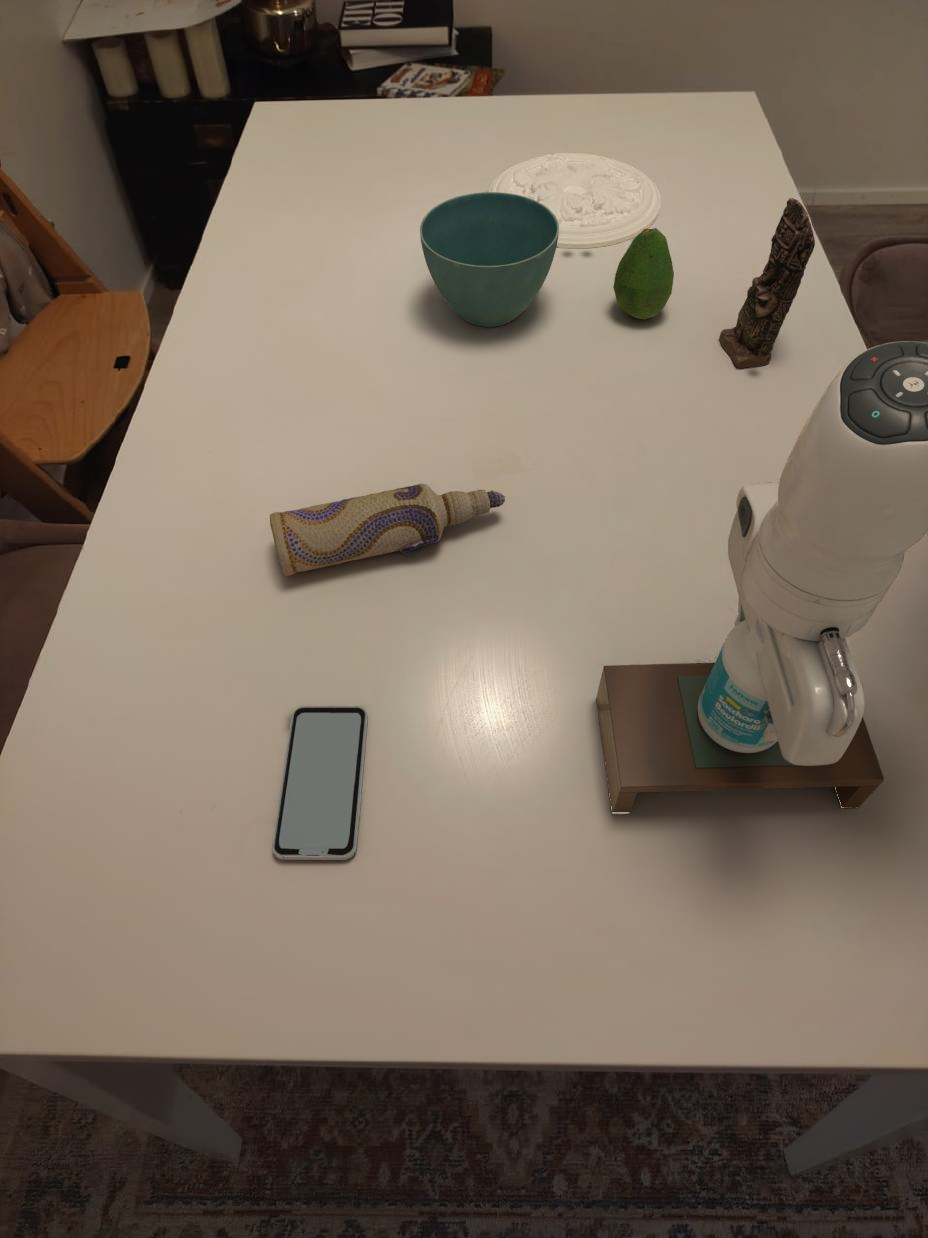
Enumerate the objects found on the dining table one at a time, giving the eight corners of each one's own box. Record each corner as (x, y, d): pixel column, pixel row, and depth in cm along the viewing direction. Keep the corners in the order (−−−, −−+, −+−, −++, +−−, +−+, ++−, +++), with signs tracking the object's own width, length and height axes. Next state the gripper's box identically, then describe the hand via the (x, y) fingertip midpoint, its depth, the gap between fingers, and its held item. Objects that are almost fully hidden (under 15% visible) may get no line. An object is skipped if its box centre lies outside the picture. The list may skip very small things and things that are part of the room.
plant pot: (425, 351, 112) (419, 268, 102) (424, 275, 123) (419, 192, 113) (558, 347, 112) (566, 263, 102) (546, 271, 123) (551, 188, 113)
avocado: (653, 293, 119) (668, 211, 109) (675, 325, 115) (693, 243, 105) (601, 302, 118) (611, 221, 108) (621, 335, 114) (634, 253, 104)
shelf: (821, 691, 80) (844, 657, 75) (858, 808, 73) (886, 779, 68) (596, 698, 80) (603, 664, 75) (611, 815, 74) (621, 786, 68)
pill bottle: (692, 746, 70) (730, 661, 59) (699, 674, 75) (736, 582, 64) (782, 765, 69) (838, 682, 58) (784, 691, 73) (837, 600, 62)
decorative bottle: (285, 592, 89) (272, 551, 83) (276, 541, 93) (263, 499, 88) (514, 542, 92) (516, 500, 87) (495, 495, 97) (496, 452, 91)
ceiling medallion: (617, 266, 123) (620, 246, 121) (456, 219, 132) (455, 199, 129) (686, 182, 137) (690, 162, 134) (536, 144, 146) (537, 125, 143)
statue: (716, 338, 113) (756, 192, 97) (766, 332, 113) (814, 185, 97) (735, 370, 109) (780, 222, 93) (786, 363, 110) (839, 215, 93)
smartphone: (368, 705, 80) (355, 857, 71) (369, 710, 80) (356, 861, 71) (292, 705, 80) (269, 857, 71) (294, 711, 80) (271, 861, 71)
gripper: (913, 708, 49) (833, 800, 61) (820, 467, 61) (767, 581, 73) (807, 711, 49) (747, 803, 61) (735, 469, 61) (696, 583, 73)
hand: (758, 680), depth 67 cm, fingers open, 8 cm apart
